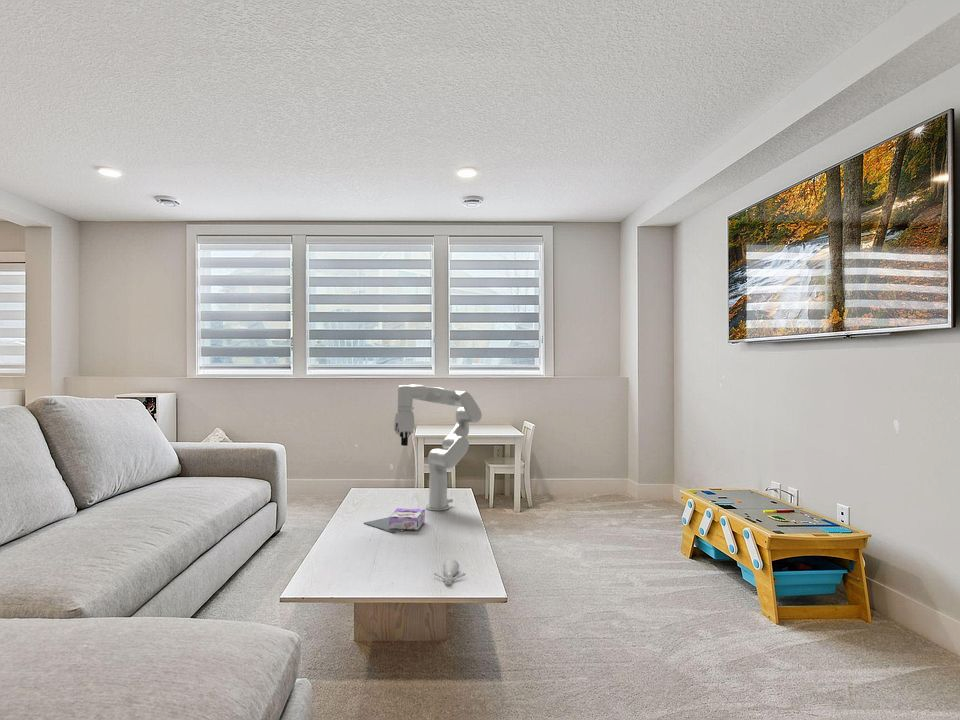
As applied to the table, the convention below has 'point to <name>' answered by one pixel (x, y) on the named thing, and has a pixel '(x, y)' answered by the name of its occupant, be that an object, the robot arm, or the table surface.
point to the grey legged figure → (450, 571)
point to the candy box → (407, 519)
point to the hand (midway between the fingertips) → (404, 445)
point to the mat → (382, 524)
